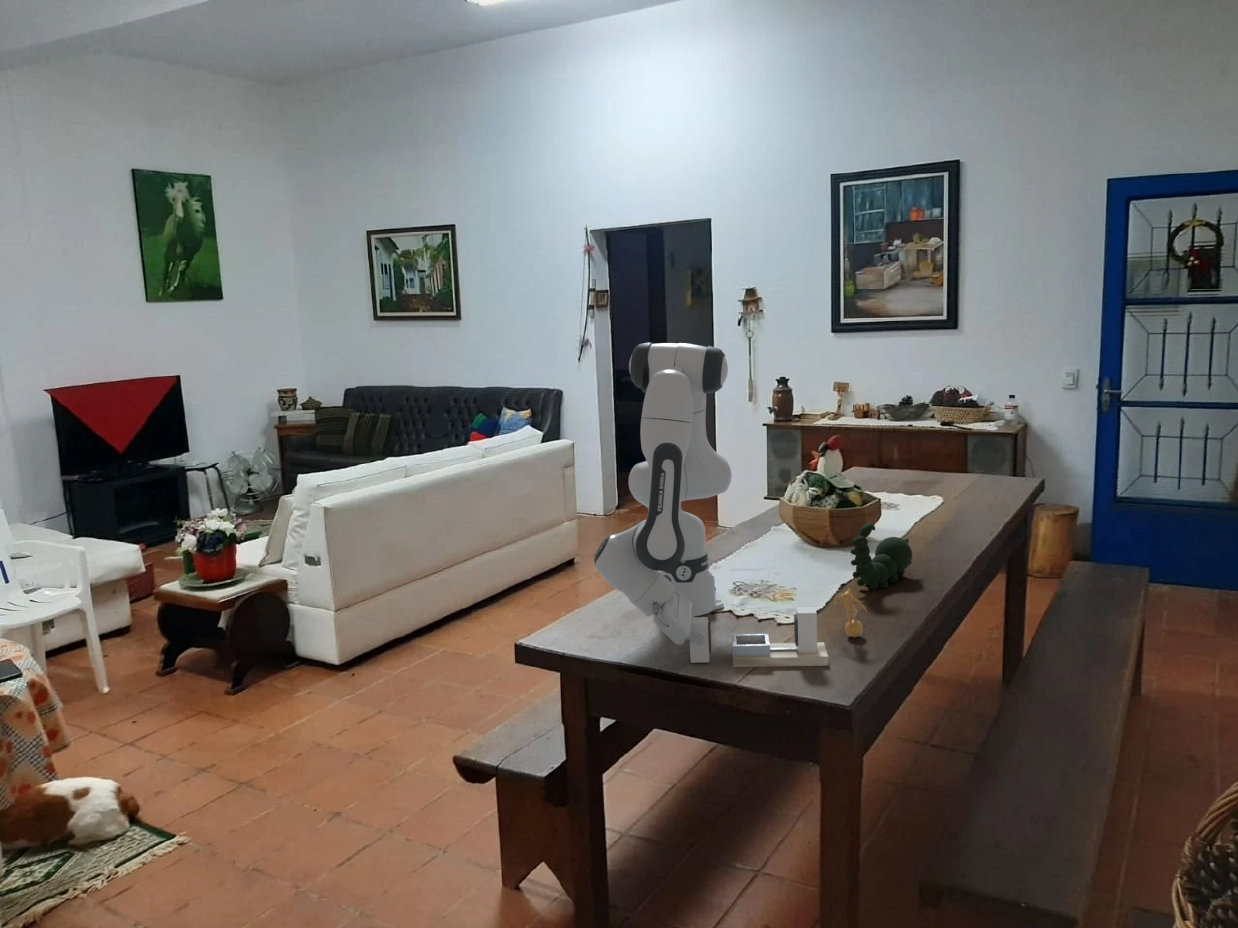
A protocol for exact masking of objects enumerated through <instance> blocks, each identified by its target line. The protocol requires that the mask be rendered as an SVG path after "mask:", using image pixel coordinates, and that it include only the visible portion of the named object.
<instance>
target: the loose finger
mask: <svg viewBox="0 0 1238 928" xmlns="http://www.w3.org/2000/svg"><path fill="white" fill-rule="evenodd" d="M691 628H693V630H694V631H695V632H696V633H699V634H701V635H702V636H703V637H704V642H703V643H702V644H701V645H700V646H699V645H697V644H696V643H695V642H694V641H691V640H689V652H690V656H689V657H690V663H698V664H699V663H710V654H712V632H711V631H712V630H711V621H709V617H708V616H701V617H700V616H694V617H691Z"/></svg>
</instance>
